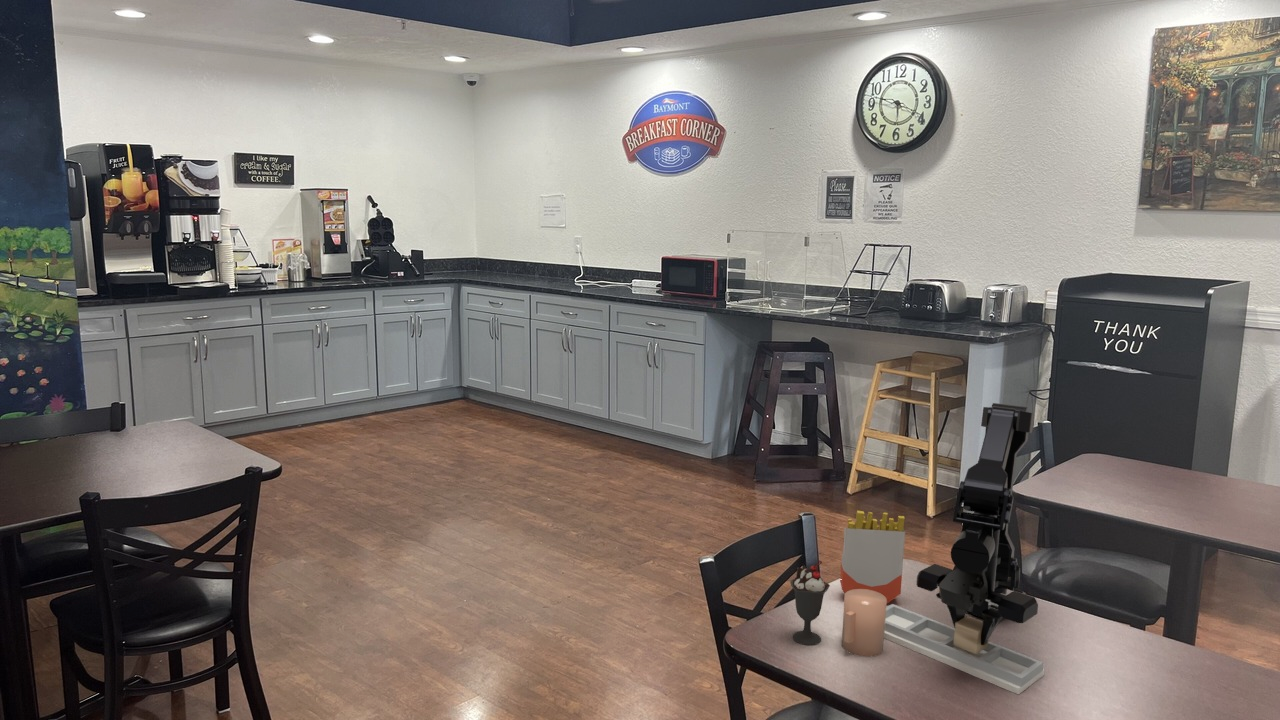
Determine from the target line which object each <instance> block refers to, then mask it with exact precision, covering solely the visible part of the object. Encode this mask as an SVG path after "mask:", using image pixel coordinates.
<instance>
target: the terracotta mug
mask: <svg viewBox="0 0 1280 720" xmlns="http://www.w3.org/2000/svg"><path fill="white" fill-rule="evenodd" d="M843 599H844V601H843V614H842V616H843V617H842V631H841V632H842V634H841V647H842V649H843V650H845V651H846V652H847V651H848V653H849V652H850V653H849V654H851V655H854V656H859V657H865V658H866V657H867V658H870V657H871V656H872V657H876V656H880V655H881V654H882V653H883V652H884V648H885V647H884V645H885V643H884V642H885V638H884V633H885V619H886V607H887V604H888V603H887V599H886V597H885V596H884V595H882V594H881V593H878V592H876V591H873V590H868V589H853V590H849V591H847V592H846V593H845V592H844V598H843ZM872 657H871V658H872Z"/></svg>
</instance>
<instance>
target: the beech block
mask: <svg viewBox="0 0 1280 720" xmlns="http://www.w3.org/2000/svg"><path fill="white" fill-rule="evenodd" d="M982 626H983V620H979V619H977V618H974V617H972V616H970V615H969V616H968V615H965V617H964V618H963V619H961V620H959V621H958V622H956V623H955V633H954V645H955V646H957V647H960V648H962V649H965V650H967V651H970V652H972V653H975V654H977V653H978V652H980V651H981V650H983V649H984V648H986V647H987V646H988V641H989V640H988V641H987V643H986V644H985V645H984V646H983V645H981V633H982Z"/></svg>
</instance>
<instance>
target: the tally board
mask: <svg viewBox="0 0 1280 720" xmlns="http://www.w3.org/2000/svg"><path fill="white" fill-rule="evenodd" d="M954 633H955V628H954V626H950V625H948V624H946V623H943V622H940V621H937V620H935V619H932V618H930V617H928V616H925V615H922V614H920V613H917V612H914V611H913V610H909V609H907V608H904V607H901V606H900V605H896V604H893V603H891V604H890V605H886V619H885V633H884V640H885V639H886V640H888V641H890V642H892V643H895V644H898V645H900V646H903V647H905V648H906V649H909V650H912V651H914V652H916V653H919V654H920V655H921V654H922V655H924V656H925V657H928V658H931V659H933V660H935V661H937V662H939V663H940V662H941V663H943V664H945V665H947V666H950V667H952V668H955V669H957V670H958V671H962V672H964V673H966V674H969V675H971V676H973V677H976V678H978V679H981V680H983V681H985V682H988V683H991V684H993V685H995V686H996V687H997V686H998V687H999V688H1002V689H1004V690H1007V691H1009V692H1011V693H1013V694H1016V695H1020V694H1021V693H1022V692H1024V691H1025V690H1026V689H1027V688H1029V687H1031V686H1032V685H1033V684H1034V683H1036V682H1037V681H1039V680H1040V679H1041V678H1042V677H1044V675H1045V669H1044V661H1041V660H1038V659H1035V658H1033V657H1030V656H1028V655H1025V654H1023V653H1021V652H1018V651H1015V650H1013V649H1010V648H1007V647H1005V646H1003V645H1000V644H998V643H994V642H992V641H990V640H988V646H987V647H986V648H984V649H983V650H981V651H980V652H978V653H977V654H975V653H972V652H970V651H967V650H965V649H962V648H960V647H957V646H955V645H954Z"/></svg>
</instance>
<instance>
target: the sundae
mask: <svg viewBox="0 0 1280 720" xmlns="http://www.w3.org/2000/svg"><path fill="white" fill-rule="evenodd" d="M821 564H823V561H822V560H818V562H816V564H814V565H811V566H810V567H808V568H807V567H806V568H803V567H796V574H795V575H796V577H794V579H791V580H790V583H789V584H790V586H791V588H792V589H793V590H794V600H795V609H796V613H797V615H798V616H799V617H800V618H801V619H802V620H803V621H804V622H803V624H804V626H803V629H802V630H798V631H795V632H794V633H793V634H792V640H794V641H795V642H796V643H797V644H800V645H805V646H815V645H817V644H819V643H820V642H821V641H822V638H821V636H820V635H819V634H818V633H815V632H813V631H812V627H811V626H812V625H811V624H812V622H813V620H816V619H817V618H818V617H819V616H820V613H821V611H822V610H821V609H822V605H823V600H824V595H825V593H827V592H828V589H829V588H830V587H831V585H830V584H829V583H828V582H826V581H824V579H822V577H821V574H820V572H819V571H818V566H819V565H821Z"/></svg>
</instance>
